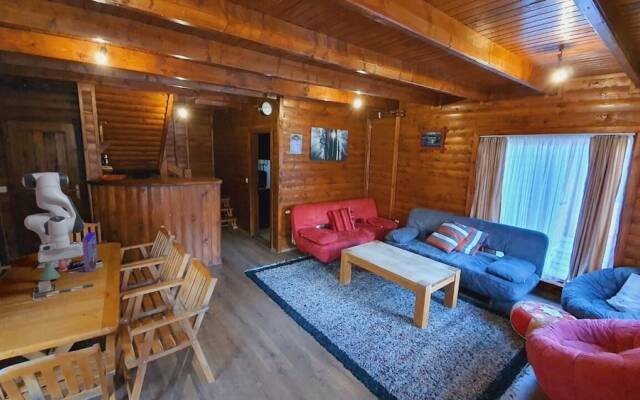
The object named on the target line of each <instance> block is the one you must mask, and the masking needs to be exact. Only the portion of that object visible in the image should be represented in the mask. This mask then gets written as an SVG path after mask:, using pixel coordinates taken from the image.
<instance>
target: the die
mask: <svg viewBox="0 0 640 400" xmlns="http://www.w3.org/2000/svg"><path fill="white" fill-rule="evenodd" d="M51 284H52V283H51V280H48V281H46V280H42V281H39V282H38V284H37V285H38V286H37V287H39V293H40V292H45V291H50V290H52V286H51Z"/></svg>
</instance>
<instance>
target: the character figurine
mask: <svg viewBox="0 0 640 400" xmlns="http://www.w3.org/2000/svg"><path fill="white" fill-rule="evenodd" d="M52 262H53V261H48V262H42V263H40V262H39V263H38V264H36V265H35V266H34V267H32V268H31V269H30V270H29V271H30V272H32V271H34V270H36V268H37V266H40V265H42V264H43V263H45V267H44V268H43V270H42V272H41V274H40V276H39V278H38V280H39V281H48V280H50V281H52V282H54V281H56V279H58V278H59V277H61V274H59V271H58V270H56V268H53V266H52V265H51V263H52ZM56 263H59V262H57V261H56Z"/></svg>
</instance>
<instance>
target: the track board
mask: <svg viewBox="0 0 640 400" xmlns="http://www.w3.org/2000/svg"><path fill="white" fill-rule="evenodd" d="M91 287H92V288H93V287H94V283H90V284H84V285H80V286H76V287H75V286H74V287H71V288H66V289H61V290H56V291H54V292H49V293H45V294H41V295H37V296H33V295H32V301H33V300H34V301H38V300H42V299H45V298H46V297H51V296H52V297H53V296H55V295H59V294H64V293H69V292H74V291H78V290H82V289H88V288H91Z"/></svg>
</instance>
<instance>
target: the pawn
mask: <svg viewBox="0 0 640 400" xmlns="http://www.w3.org/2000/svg"><path fill="white" fill-rule="evenodd" d="M58 261H59V267H58V273H59V272H60V273H62V272H63V273H65V272H67V271H68V270H69V269H68V267H67V265H66V259H60V260H58Z"/></svg>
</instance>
